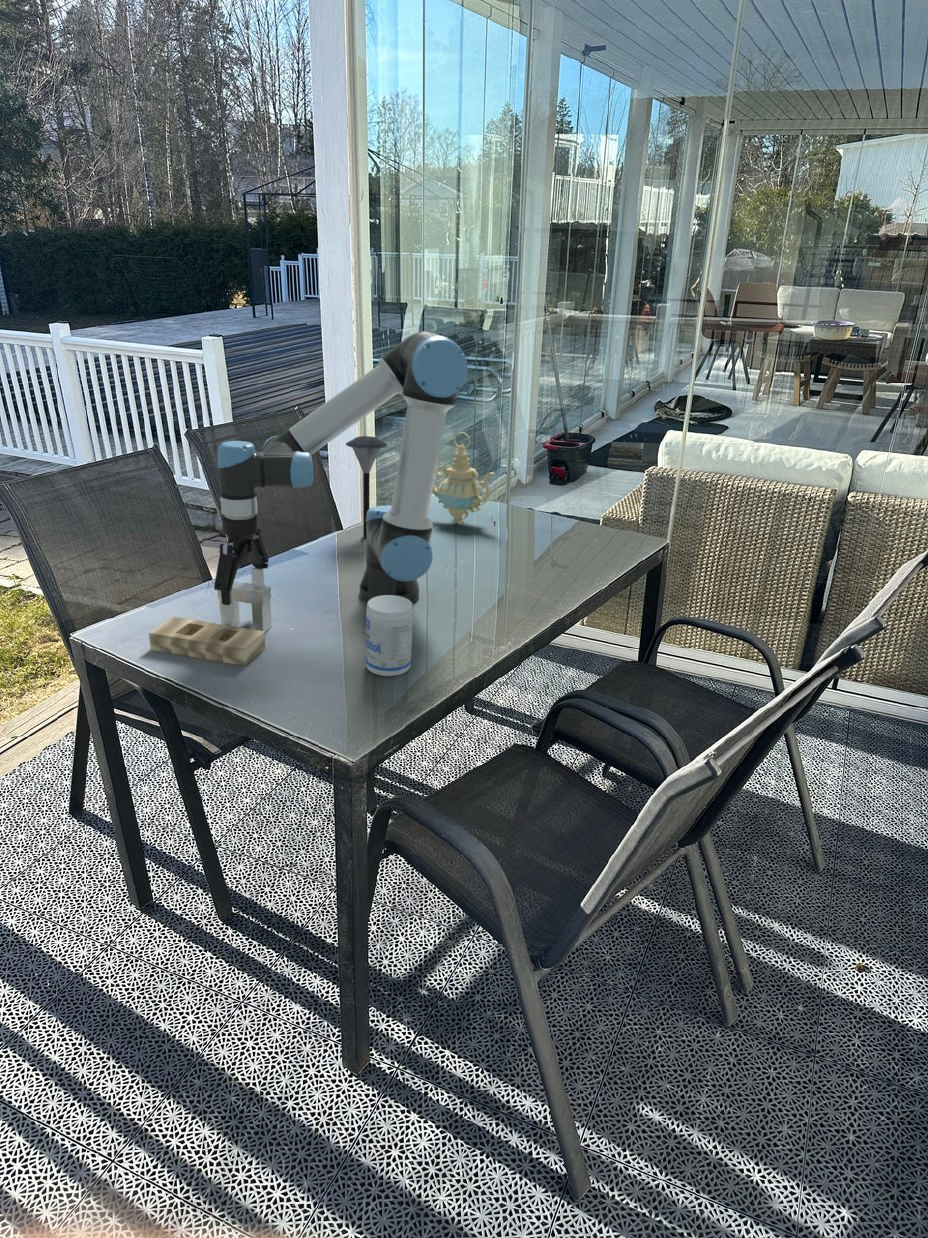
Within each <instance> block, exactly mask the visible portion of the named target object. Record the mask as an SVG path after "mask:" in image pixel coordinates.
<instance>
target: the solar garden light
mask: <svg viewBox="0 0 928 1238" xmlns="http://www.w3.org/2000/svg"><path fill="white" fill-rule="evenodd" d="M345 445H346V446H347V447H349V448H352V449H353V452H354V455H355V456H356V459H357V461H358V463H359V465H360V468H361V470H362V473H363V478H362V479H363V483H362V484H363V488H362V489H363V494H362V495H363V496H362V497H363V508H362V509H363V514H362V515H363V517H362V518H363V519H362V520H363V521H362V522H363V524H362V525H363V526H362V527H363V529H362V532H363V534H362V535H363V538H366V537H367V522H366V519H367V511H368V510H369V509H370V477H371V476H370V472H371V470H372V468H373V466H374V463H375V461H376V458H377V456H378V454H379V452H380V449H383V448H387V447H388V444H387V443H386V442H384V441H383V440H381V439H380V438H377V437H375V436H370V435H367V436H365V435H364V436H362V435H361V436H360V435H359V436H356V437H355V438H353V439H351V440H349V441H348V442H346V443H345Z"/></svg>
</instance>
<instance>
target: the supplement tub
mask: <svg viewBox="0 0 928 1238" xmlns="http://www.w3.org/2000/svg"><path fill="white" fill-rule="evenodd" d="M365 611H366V612H365V656H364V657H365V659H364V660H365V668H367V670H368V671H369V672H371V673H372V674H374V675H378V676H382V677H396V676H400V675H404V674H405V673H406V672H408V671H409V669H410V668H411V665H412V662H411V661H412V647H413V646H412V644H413V641H412V640H413V622H414V620H413V619H414V607H413V602H411V601H410V600H408V599H406V598H404V597H401V596H395V595H382V596H377V597H374V598H372V599H370V600H369V601H368V602H367V604H366V610H365Z"/></svg>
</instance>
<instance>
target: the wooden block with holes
mask: <svg viewBox="0 0 928 1238" xmlns="http://www.w3.org/2000/svg"><path fill="white" fill-rule="evenodd" d="M265 633H266V632H265ZM265 633H264V631H259V630H253V628H245V627H241V626H239V627H238V626H228V625H221V623H215V622H208V621H202V620H196V619H189V618H183V617H176V616H172V617H170V618H169V619H167V620H166V621H164V622H162V623H161V624H160V625H158V626H157V627H156V628H154V629H153V630H151V631H149V632H148V638H149V644H150V645H149V646H150V647H149V648H150V650H151V651H156V652H160V653H161V652H162V653H168V654H172V655H177V656H178V655H179V656H184V657H191V658H197V659H201V660H208V661H213V662H219V663H226V664H231V665H238V666H242V667H246V666H247V665H248V664H250V662H252V661H253V660H254V659H255V658H256V657H257V656H258V655H259V654H260V653H262V652H263V651H264V650H265V649H266V638H265V636H266V635H265Z"/></svg>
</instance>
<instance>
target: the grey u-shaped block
mask: <svg viewBox="0 0 928 1238" xmlns="http://www.w3.org/2000/svg"><path fill="white" fill-rule="evenodd" d="M232 589H234V598H235V615H236V617H235V618H228V617H223V614H222V600H221V591H220V590H216V592H217V599H218V601H219V616H220V624H221V625H228V626H234V627H236V626H237V625H238V624H239V623H240V622H241V620H240V619H241V618H240V604H239V603H245V604H251V615H252V617H251V618H252V629H253V630H259V631H264V633H266V632H267V631H268V630H270V629H271V628H272V626H273V625H272V611H271V609H272V608H271V607H272V606H271V605H272V604H271V599H272V590H271V589H272V586H271V585H269V586H268V585H265V584H264V585H257V584H252V583H251V582H250V583H249V582H243V581H237V580H236V581H235V580H234V582H233V586H232Z"/></svg>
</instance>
